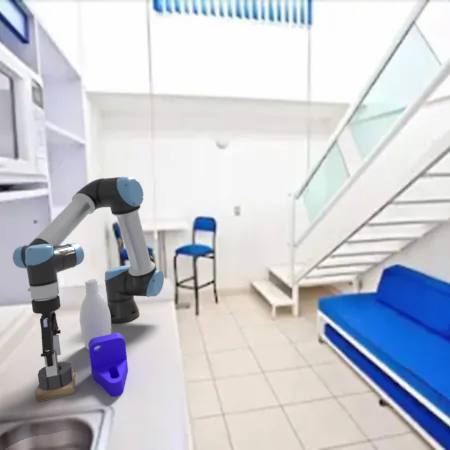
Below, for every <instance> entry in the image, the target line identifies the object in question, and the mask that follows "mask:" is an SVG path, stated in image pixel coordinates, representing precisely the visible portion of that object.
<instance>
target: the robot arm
mask: <svg viewBox="0 0 450 450" xmlns="http://www.w3.org/2000/svg"><path fill="white" fill-rule="evenodd" d="M143 201H144V190H143V188H142V185H141V183H140V182H139V180H138V179H136V178H135V177H132V176H118V177H116V176H115V177H106V178H103V177H102V178H101V177H100V178H98V179H95V180H92V181H91V182H89V183H87V184H85V185H84V186H83V187H82V188H80V189H79V190H78V191H76V193H75V194H74V195H73V196H72V198H71V201H70V203H69V204H67V206H65V208H64V209H63V210H62V211H61V212H60V213H58V214H57V216H56V217H55V218H54V219H53V220H52V221H51V222H52V223H51V222H50V223H51V224H50V223H49V224H50V225H49V224H48V225H47V226H46V227H45V228H44V229H42V231H40V233H39V234H38V235H37V236H36V237H35V238H34V239H33V240H32V241H30V243H28V245H27V244H24V245H20V246H17V247H16V248H15V250H14V251H13V253H12V261H13V264H14V265H15V266H16V267H17V268H20V269H26V271H27V278H28V279H27V280H28V285H29V287H28V288H27V292H30V298H31V299H32V300H31V309H32V312H33V313H34V314H37V315H38V314H40V319H39V324H40V329H41V330H40V331H41V332H40V333H41V335H40V336H41V347H42V349H41V350H42V353H41V354H40V358H41V357H43V358H44V359H43V360H44V367H46V374H47V377H50V376H55V375H57V366H56V359H55V352H54V349H56V352H57V356H61V355H62V351H61V350H62V349H61V343H60V337H59V335H60V334H62V333H61V329H59V325H58V319H57V313H56V311H58V310H59V309H60V308H61V298H60V295H59V294H60V289H59V288H60V287H59V282H58V275H57V273H60V272H63V271H66V270H69V269H73V268H75V267H76V266H79V265H81V263H82V262H83V261H84V259H85V253H84V252H85V250H84V249H83V247H82V246H81V245H80V244H78V243H74V242H73V243H65V244H64V245H62V244H63V242H65V241H66V239H67V238H68V237H69V236H70V235H71V234H72V233H73V232H74V230H75V229H76V228H77V227H78V226H79V225H80V223H82V221H83V220H84V219H85V218H86V217H87V216H88V215H92V214H93V213H94V212H95V211H96V210H98V209H100V208H101V209H102V208H110V212H111V214H112V215H113V216H115V217H116V218H117V222H118V225H119V229H120V233H121V236H122V240H123V244H124V247H125V250H126V254H127V257H128V261H129V264H128V265H119V266H116V267H112V268H109V269H108V270H106V271H105V272H104V283H105V293H106V303H107V305H108V307H109V311H110V314H111V324H120V323H127V322H131V321H133V320H136V319H137V318H138V317H139V316H140V309H139V307H138V305H137V302H136V300H135V297H148V298H149V297H157V296H158V295H159V294H160V293H161V292H162V289H163V287H164V281H165V276H164V273H163V271H162V270H161V269H157V265H156V264H155V262H154V261H151V258H150V254H149V253H150V252H149V249H148V246H147V241H146V238H145V234H144V230H143V225H142V222H141V218H140V214H139V210H140V209H141V205H142V203H143ZM49 350H50V351H49Z"/></svg>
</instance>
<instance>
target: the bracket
mask: <svg viewBox="0 0 450 450" xmlns="http://www.w3.org/2000/svg"><path fill="white" fill-rule="evenodd" d="M88 346H89V350H88V354H89V362H90V369H91V370H90V371H91V372H90V373H91V377H92V380H93V381H94V382H95V383H96V384H97V385H98V386H99V387H101V389H102V390H103V391H105V392H106V393H107V394H108V395H110V396H111V397H114V398H116V397H119V396H121V395H123V393H124V391H125V385H126V382H127V377H128V372H129V365H128V355H127V349H126V348H127V346H126V341H125V339H124V336H123V335H122V334H121V333H119V332H114V333H111V334H109V335H105V336H100V337H96V338H93V339H91V340H90V342H89V344H88ZM96 346H100V347H99V348H98V349H94V348H95V347H96Z"/></svg>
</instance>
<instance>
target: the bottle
mask: <svg viewBox="0 0 450 450" xmlns="http://www.w3.org/2000/svg"><path fill="white" fill-rule="evenodd" d="M84 284H85V296H84V299H83V300H82V302H81V306H80V311H79V324H80V331H81V332H80V333H81V336H82V340H83V343H84V347H85V349H87V350H88V351H89V346H88V344H89V342H90V340H91V339H93V338H96V337H100V336H105V335H109V334H112V323H111V314H110V311H109V307H108V305H107V303H108V302H107V300H106V299H105V298H104V297H103V295H102V294H101V292H100V290H99V284H98V279H96V278H93V279H92V278H91V279H88V280H85V281H84ZM99 347H100V346H96V347H95V348H94V349H98V348H99Z"/></svg>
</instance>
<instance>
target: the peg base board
mask: <svg viewBox="0 0 450 450" xmlns="http://www.w3.org/2000/svg"><path fill="white" fill-rule="evenodd" d="M48 351H50V350H48ZM54 352H55V359H56V366H57V371H59V367H58V362H59V361H58V355H57V352H56V349H54ZM75 370H76V369H72V375H73V376H72V381H71V382H70V383H68V384H67V385H65V386H64V387H61V388H58V389H53V390H44V389H40V388H39V384H38V386H37V390H36V392H35V400H36V403H39V402H43V401H46V400H51V399H52V400H53V399H54V398H55V399H57V398H60V397H65V396H69V395H73V394H75V387H76V385H75V383H76V371H75Z"/></svg>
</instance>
